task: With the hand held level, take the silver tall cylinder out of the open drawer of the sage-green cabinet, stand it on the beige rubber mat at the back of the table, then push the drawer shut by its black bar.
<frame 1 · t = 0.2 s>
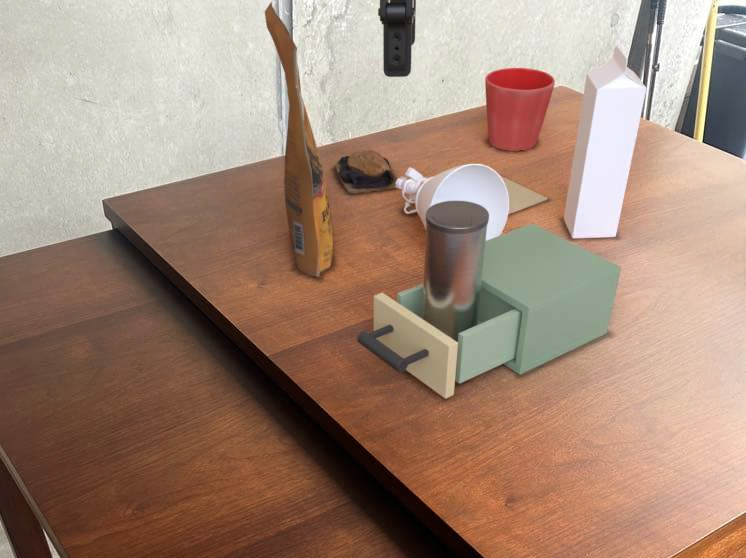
hand: (399, 59, 73), 32 cm above the table, tool pointing down, fingers open, 8 cm apart
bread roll: (365, 178, 133), on the table
cabinet: (521, 327, 102), on the table
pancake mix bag: (307, 250, 117), on the table
silver tall cylinder: (448, 345, 96), point 2 cm above the table, touching drawer
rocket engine: (448, 229, 120), on the table
milk: (588, 229, 119), on the table
flower pot: (512, 143, 141), on the table
drawer: (438, 333, 94), point 4 cm above the table, slide at 9.0 cm, touching silver tall cylinder
mat: (498, 197, 127), on the table
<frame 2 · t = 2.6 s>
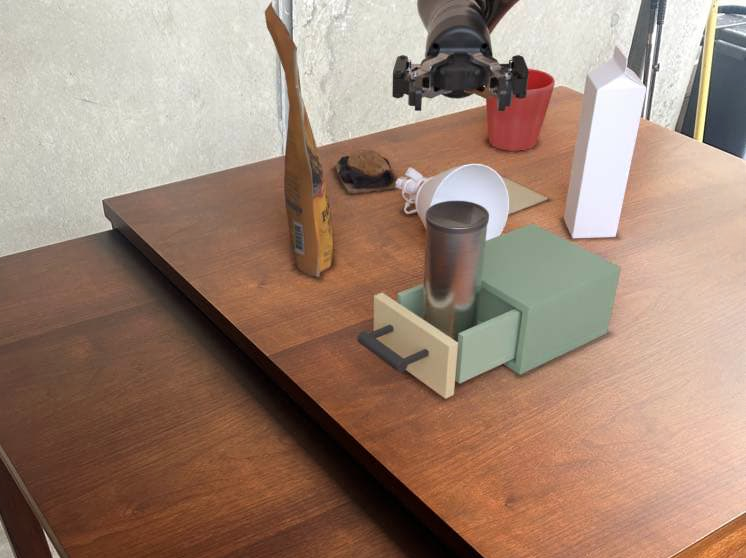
hand: (460, 101, 88), 24 cm above the table, tool horizontal, fingers open, 8 cm apart
nothing on the table moved.
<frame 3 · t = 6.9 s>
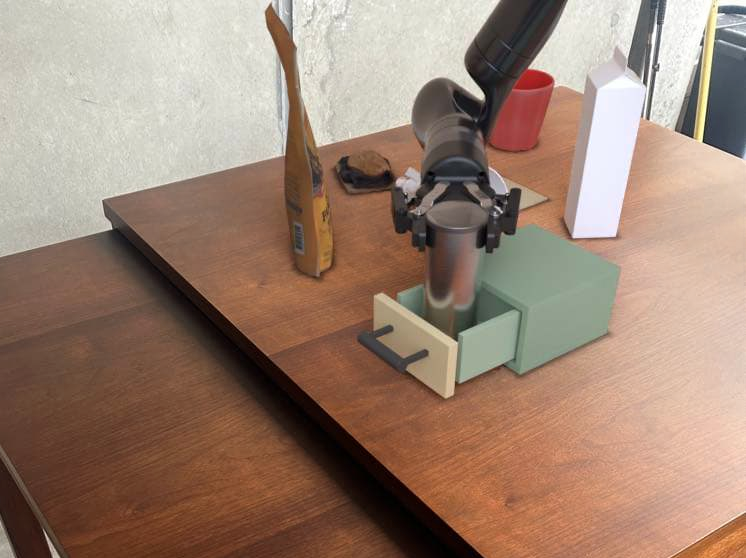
hand: (456, 243, 85), 15 cm above the table, tool horizontal, fingers closed on silver tall cylinder, 6 cm apart
silver tall cylinder: (448, 345, 96), point 2 cm above the table, touching drawer, gripper
everything else where it was.
when the fingers open (13 cm above the table, at t = 20.4 s): silver tall cylinder stays where it is, resting on mat.
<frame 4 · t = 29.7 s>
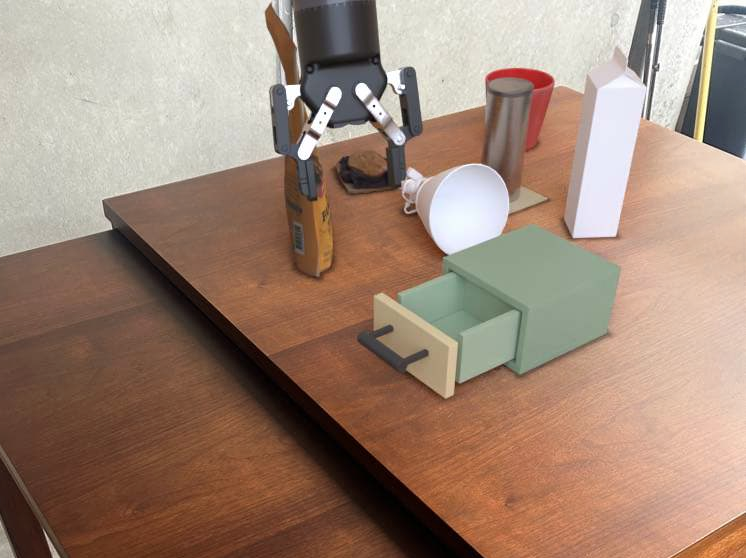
hand: (354, 194, 85), 19 cm above the table, tool tilted 20°, fingers open, 8 cm apart
silver tall cylinder: (498, 195, 127), resting on mat
drawer: (438, 333, 94), point 4 cm above the table, slide at 9.0 cm
everything else where it was.
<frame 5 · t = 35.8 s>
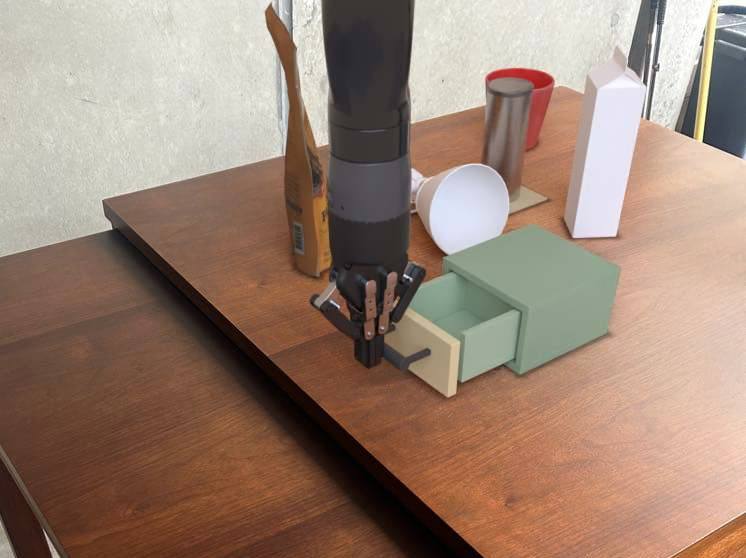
hand: (369, 363, 90), 4 cm above the table, tool pointing down, fingers closed
drawer: (441, 332, 94), point 4 cm above the table, slide at 8.7 cm, touching gripper
everything else where it was.
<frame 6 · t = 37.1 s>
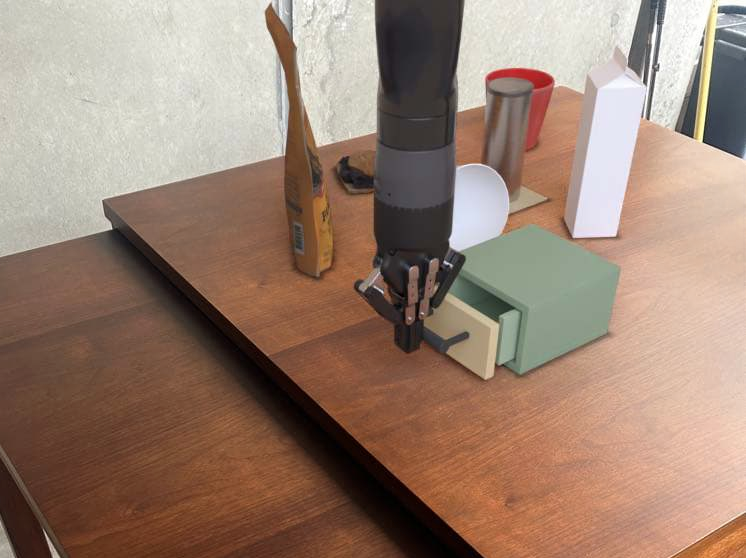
hand: (408, 348, 92), 4 cm above the table, tool pointing down, fingers closed
drawer: (477, 316, 96), point 4 cm above the table, slide at 3.4 cm, touching gripper
everything else where it was.
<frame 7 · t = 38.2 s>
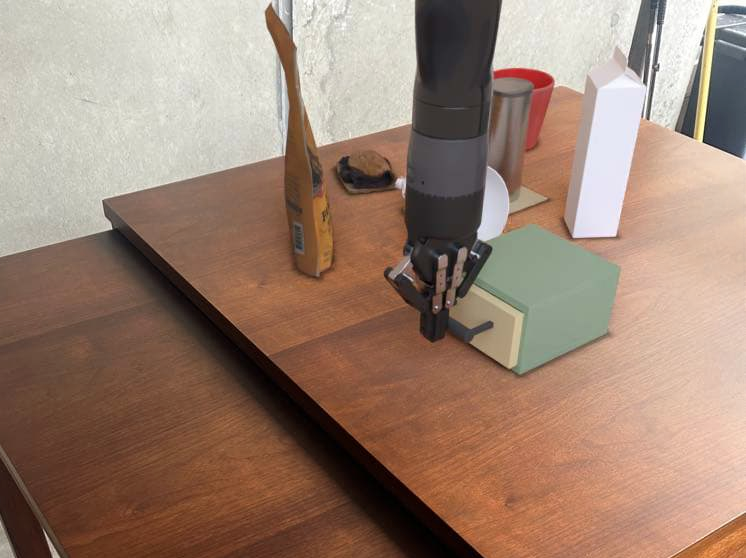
hand: (433, 337, 93), 4 cm above the table, tool pointing down, fingers closed
drawer: (500, 307, 97), point 4 cm above the table, slide at 0.0 cm, touching cabinet, gripper
everything else where it was.
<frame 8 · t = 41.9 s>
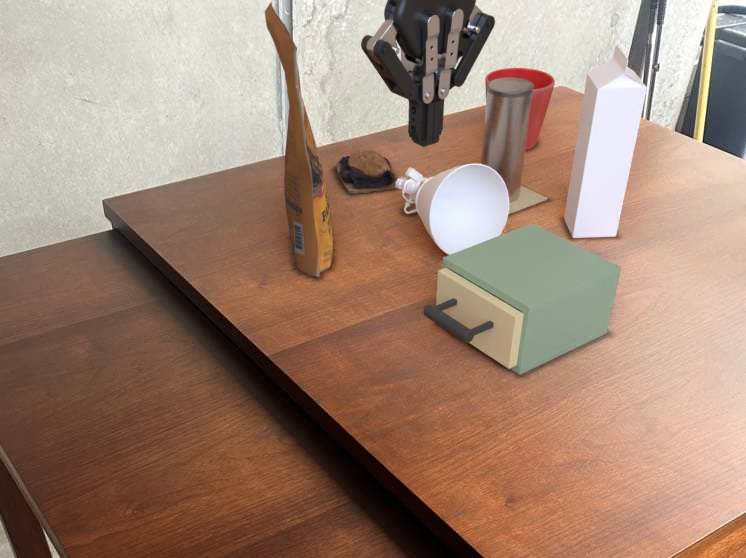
hand: (425, 142, 78), 25 cm above the table, tool pointing down, fingers closed
drawer: (500, 307, 97), point 4 cm above the table, slide at 0.0 cm, touching cabinet
everything else where it was.
at the end: silver tall cylinder inside the target area on the mat (0.1 cm from its centre), point 0.3 cm above the mat's base; silver tall cylinder tilted 0°; drawer slide at 0.0 cm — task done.
